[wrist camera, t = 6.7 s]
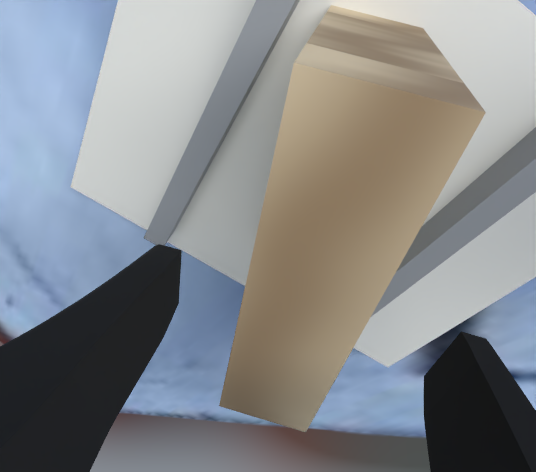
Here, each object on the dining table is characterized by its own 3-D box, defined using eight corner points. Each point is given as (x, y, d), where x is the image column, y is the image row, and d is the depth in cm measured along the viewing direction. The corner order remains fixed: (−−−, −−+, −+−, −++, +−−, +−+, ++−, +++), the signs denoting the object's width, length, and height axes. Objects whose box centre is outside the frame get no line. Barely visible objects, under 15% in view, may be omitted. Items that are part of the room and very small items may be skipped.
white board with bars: (693, 150, 13) (753, 188, 11) (387, 350, 23) (389, 390, 21) (204, -253, 10) (161, -306, 8) (84, 175, 20) (51, 202, 18)
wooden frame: (423, 27, 12) (485, 112, 6) (325, 272, 19) (305, 432, 13) (331, 4, 12) (293, 63, 6) (267, 255, 19) (219, 406, 13)
